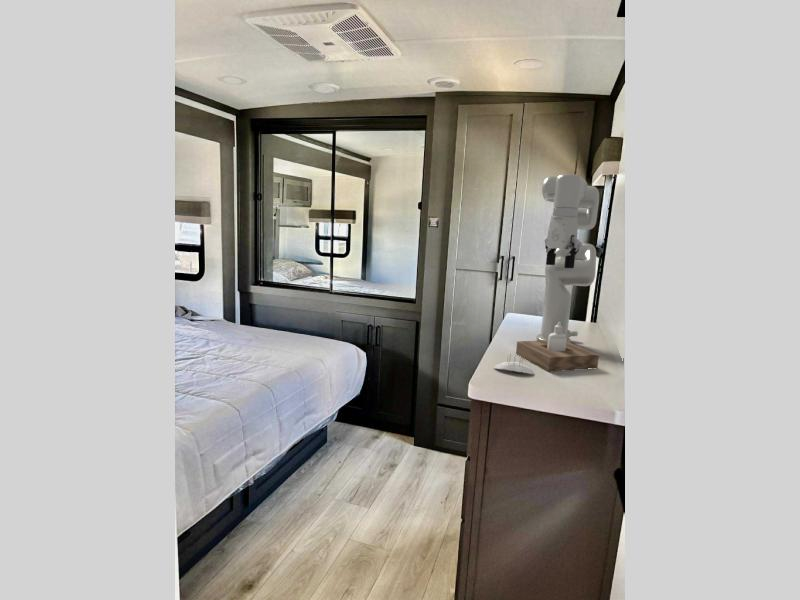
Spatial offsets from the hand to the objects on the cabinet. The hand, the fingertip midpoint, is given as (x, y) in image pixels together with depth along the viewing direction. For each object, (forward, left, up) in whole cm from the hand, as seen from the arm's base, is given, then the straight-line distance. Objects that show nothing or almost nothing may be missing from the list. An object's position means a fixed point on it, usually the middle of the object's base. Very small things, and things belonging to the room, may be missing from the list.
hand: (559, 266), depth 148 cm
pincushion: (+23, +14, -31) cm, 41 cm away
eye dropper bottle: (+3, +7, -30) cm, 30 cm away
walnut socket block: (+3, +7, -30) cm, 31 cm away
